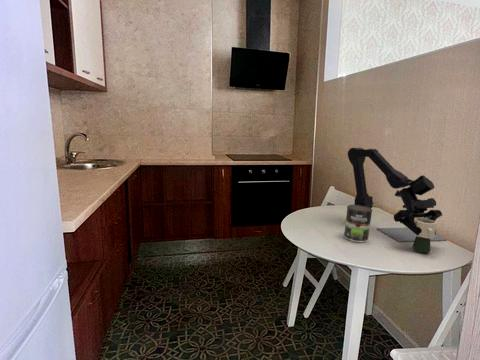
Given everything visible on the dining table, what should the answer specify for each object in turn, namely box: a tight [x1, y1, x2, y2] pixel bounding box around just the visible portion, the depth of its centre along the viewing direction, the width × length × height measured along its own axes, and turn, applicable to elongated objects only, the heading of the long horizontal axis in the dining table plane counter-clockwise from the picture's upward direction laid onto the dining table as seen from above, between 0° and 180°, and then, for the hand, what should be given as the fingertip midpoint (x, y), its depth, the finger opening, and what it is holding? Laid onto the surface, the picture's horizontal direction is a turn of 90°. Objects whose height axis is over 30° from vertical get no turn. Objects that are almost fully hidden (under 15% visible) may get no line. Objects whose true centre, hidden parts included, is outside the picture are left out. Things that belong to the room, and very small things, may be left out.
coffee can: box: [343, 204, 373, 243], centre depth 129 cm, size 10×10×14 cm
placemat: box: [376, 226, 448, 243], centre depth 137 cm, size 24×16×1 cm, turn 99°
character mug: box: [411, 218, 437, 253], centre depth 118 cm, size 11×7×13 cm, turn 171°
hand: (426, 234), depth 116 cm, fingers closed on character mug, 7 cm apart
